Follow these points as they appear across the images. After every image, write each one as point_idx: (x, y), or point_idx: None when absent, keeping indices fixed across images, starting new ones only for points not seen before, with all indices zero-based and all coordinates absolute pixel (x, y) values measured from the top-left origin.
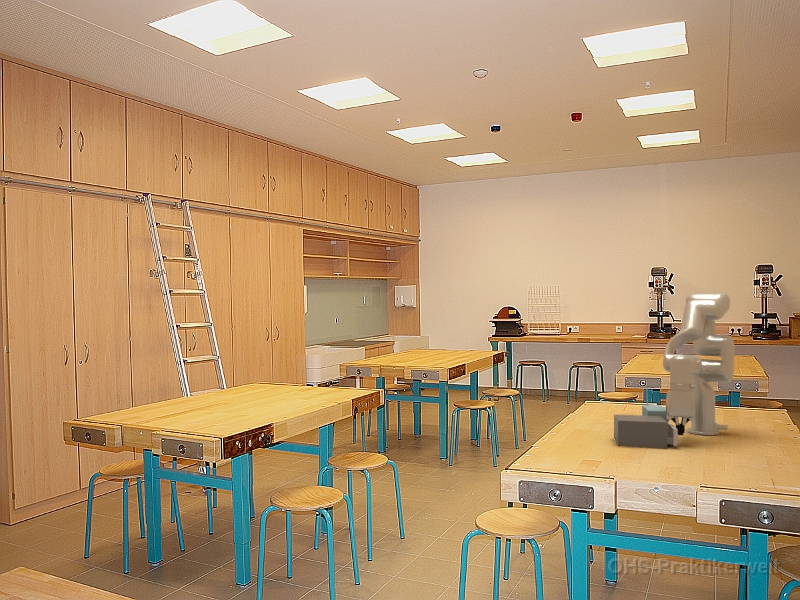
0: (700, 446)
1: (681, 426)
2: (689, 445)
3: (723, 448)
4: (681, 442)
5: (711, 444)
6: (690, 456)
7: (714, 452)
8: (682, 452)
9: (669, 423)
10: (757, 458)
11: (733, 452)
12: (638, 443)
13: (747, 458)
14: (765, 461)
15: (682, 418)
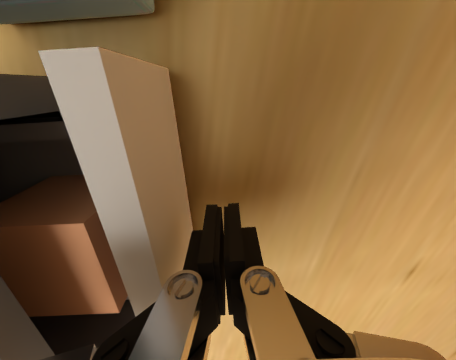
0: (328, 189)
1: (231, 309)
2: (275, 178)
3: (429, 207)
4: (247, 94)
5: (424, 110)
6: (233, 351)
7: (341, 289)
8: None
9: (106, 171)
10: (451, 332)
11: (424, 272)
12: None
13: (414, 338)
14: (447, 355)
15: (262, 356)
